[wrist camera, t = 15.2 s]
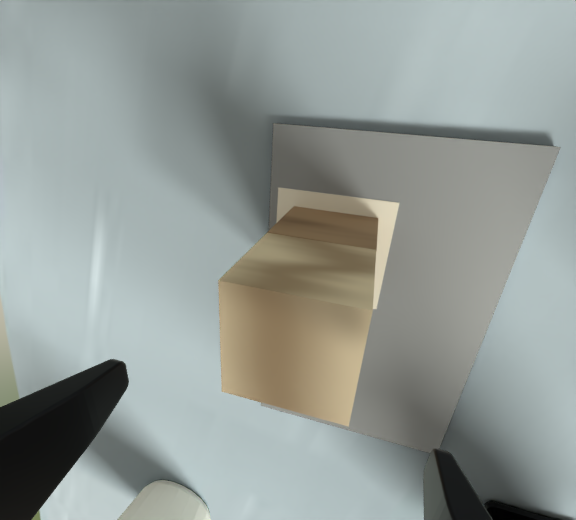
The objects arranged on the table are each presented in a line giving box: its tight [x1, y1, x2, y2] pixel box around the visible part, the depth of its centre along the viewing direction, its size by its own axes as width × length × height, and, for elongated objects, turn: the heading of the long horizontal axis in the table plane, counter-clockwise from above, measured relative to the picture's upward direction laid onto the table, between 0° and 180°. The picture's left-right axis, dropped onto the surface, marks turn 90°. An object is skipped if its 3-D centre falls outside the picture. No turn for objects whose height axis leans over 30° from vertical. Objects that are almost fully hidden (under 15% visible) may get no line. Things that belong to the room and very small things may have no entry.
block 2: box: [218, 233, 376, 427], centre depth 13 cm, size 5×5×5 cm
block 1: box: [267, 206, 378, 251], centre depth 18 cm, size 5×5×5 cm
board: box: [261, 123, 561, 453], centre depth 21 cm, size 14×22×1 cm, turn 176°
